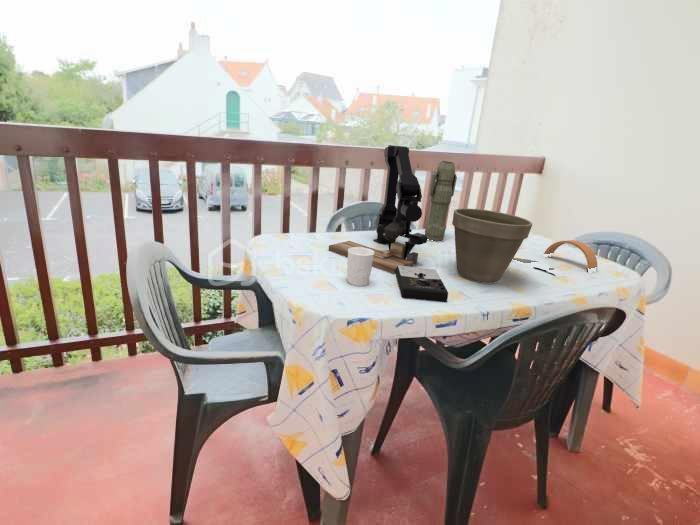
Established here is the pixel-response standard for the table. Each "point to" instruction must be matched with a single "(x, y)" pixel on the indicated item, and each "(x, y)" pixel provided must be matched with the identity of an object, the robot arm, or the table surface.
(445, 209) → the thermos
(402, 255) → the marking gauge
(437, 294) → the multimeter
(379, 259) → the walnut board
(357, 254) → the white cup
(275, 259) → the table surface
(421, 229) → the table surface
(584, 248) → the arch
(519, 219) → the plant pot
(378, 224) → the robot arm
